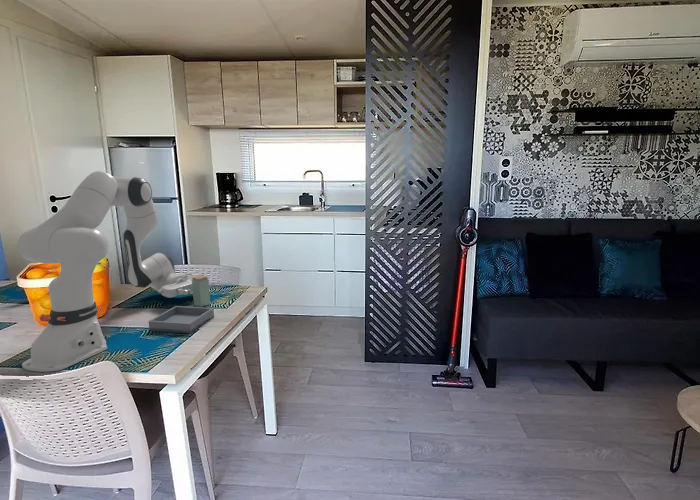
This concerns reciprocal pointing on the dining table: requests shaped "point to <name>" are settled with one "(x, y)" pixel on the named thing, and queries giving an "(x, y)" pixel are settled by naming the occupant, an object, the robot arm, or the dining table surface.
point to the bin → (181, 319)
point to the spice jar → (201, 291)
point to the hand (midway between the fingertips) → (197, 289)
